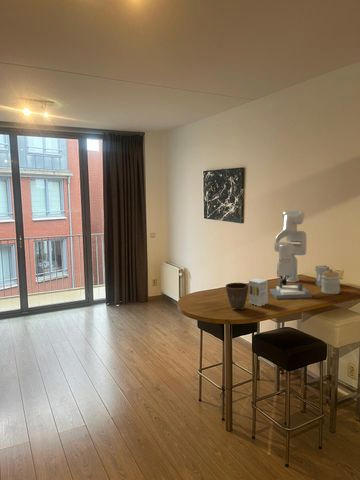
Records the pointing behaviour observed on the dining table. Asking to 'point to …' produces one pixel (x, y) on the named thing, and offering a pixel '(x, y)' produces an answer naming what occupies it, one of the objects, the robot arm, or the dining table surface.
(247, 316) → the dining table surface
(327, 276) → the jar
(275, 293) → the breaker panel
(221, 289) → the dining table surface
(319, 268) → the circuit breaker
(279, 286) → the breaker handle
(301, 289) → the breaker handle
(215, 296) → the dining table surface
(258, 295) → the supplement box
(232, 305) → the plant pot
